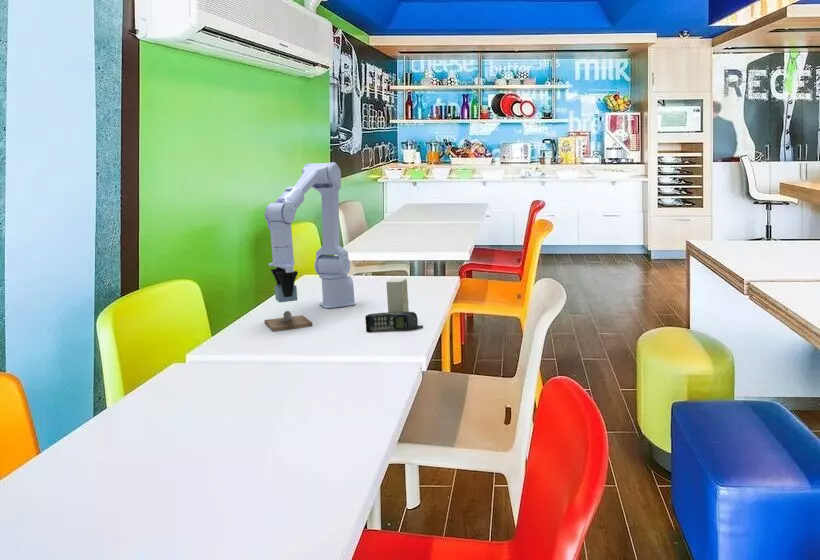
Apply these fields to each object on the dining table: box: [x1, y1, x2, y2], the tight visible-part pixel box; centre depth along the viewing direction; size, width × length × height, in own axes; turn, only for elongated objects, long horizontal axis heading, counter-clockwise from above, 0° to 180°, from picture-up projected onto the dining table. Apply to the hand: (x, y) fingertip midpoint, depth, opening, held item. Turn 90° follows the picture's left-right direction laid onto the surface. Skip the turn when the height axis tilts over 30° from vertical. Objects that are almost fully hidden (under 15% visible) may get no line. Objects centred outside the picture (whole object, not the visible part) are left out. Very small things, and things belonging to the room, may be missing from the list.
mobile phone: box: [364, 311, 424, 333], centre depth 195 cm, size 5×3×15 cm
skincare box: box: [385, 277, 410, 312], centre depth 201 cm, size 6×4×12 cm
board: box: [264, 310, 313, 332], centre depth 206 cm, size 11×11×4 cm
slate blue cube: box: [274, 284, 298, 303], centre depth 205 cm, size 5×5×4 cm
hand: (285, 294), depth 205 cm, fingers closed on slate blue cube, 5 cm apart
